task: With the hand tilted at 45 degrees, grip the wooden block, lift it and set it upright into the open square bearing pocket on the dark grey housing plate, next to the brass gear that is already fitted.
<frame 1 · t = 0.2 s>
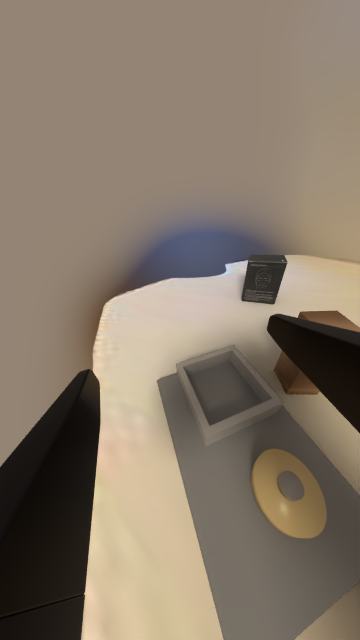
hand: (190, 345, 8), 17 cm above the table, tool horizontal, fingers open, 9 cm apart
wooden block: (293, 381, 24), on the table
housing: (235, 437, 19), on the table
box: (257, 298, 43), on the table
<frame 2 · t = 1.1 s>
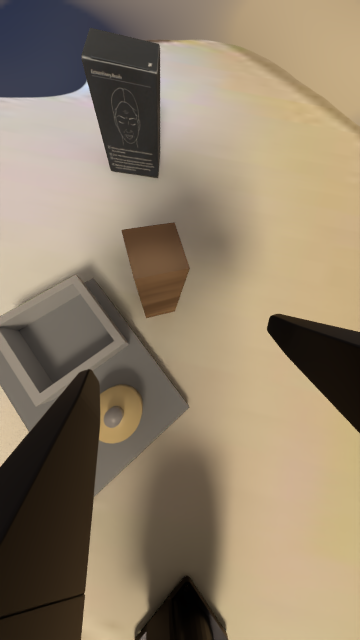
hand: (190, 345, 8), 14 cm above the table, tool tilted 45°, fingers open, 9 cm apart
wooden block: (157, 301, 22), on the table
housing: (90, 376, 19), on the table
box: (136, 164, 28), on the table
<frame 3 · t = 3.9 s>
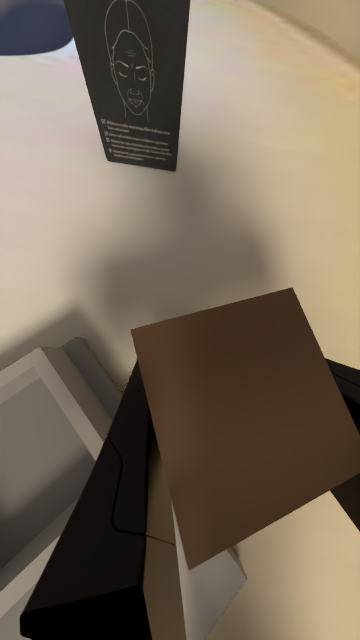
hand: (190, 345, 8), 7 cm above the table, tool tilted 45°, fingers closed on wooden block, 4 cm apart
wooden block: (180, 366, 14), on the table, touching gripper
housing: (69, 520, 11), on the table
box: (143, 152, 19), on the table
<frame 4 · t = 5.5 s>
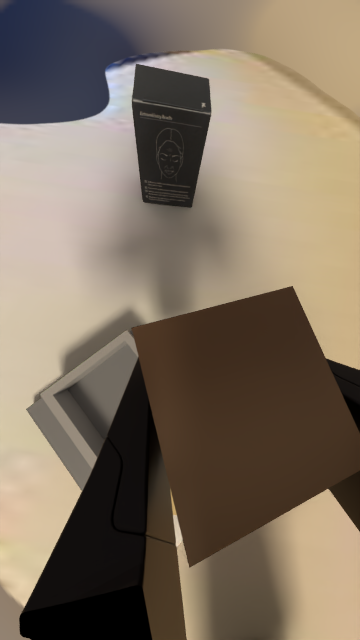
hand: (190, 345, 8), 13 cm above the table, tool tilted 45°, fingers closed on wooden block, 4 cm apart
wooden block: (181, 366, 14), point 7 cm above the table, touching gripper
housing: (142, 432, 18), on the table
box: (167, 193, 26), on the table
when the fingers open (9 cm above the table, at t = 7.3 s): wooden block drops 1 cm, resting on housing.
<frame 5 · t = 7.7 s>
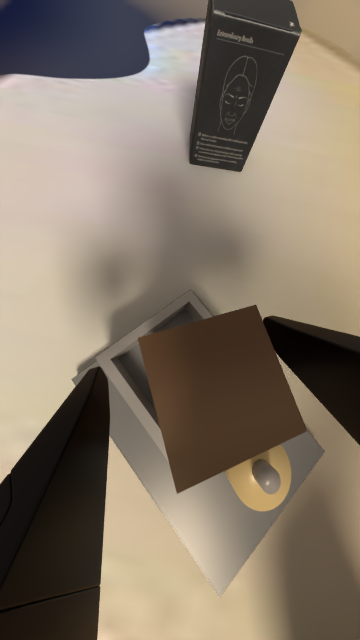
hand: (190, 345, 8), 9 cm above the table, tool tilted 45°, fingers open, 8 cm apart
wooden block: (178, 365, 15), point 1 cm above the table, touching housing
housing: (201, 413, 16), on the table
box: (214, 156, 24), on the table
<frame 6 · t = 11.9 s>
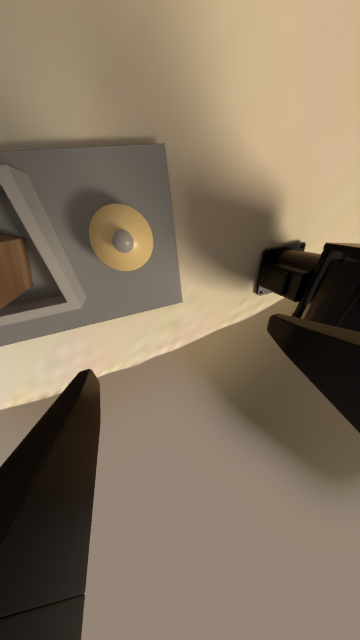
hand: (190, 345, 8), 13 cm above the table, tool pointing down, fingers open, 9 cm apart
housing: (73, 257, 15), on the table
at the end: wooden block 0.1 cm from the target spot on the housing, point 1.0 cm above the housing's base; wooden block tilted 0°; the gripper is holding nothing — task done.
